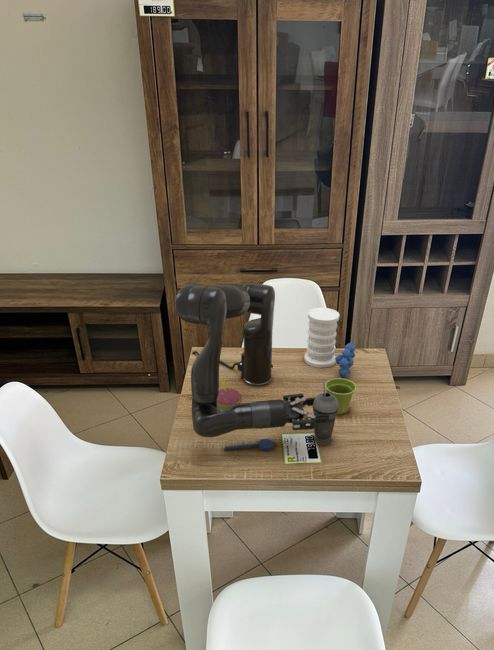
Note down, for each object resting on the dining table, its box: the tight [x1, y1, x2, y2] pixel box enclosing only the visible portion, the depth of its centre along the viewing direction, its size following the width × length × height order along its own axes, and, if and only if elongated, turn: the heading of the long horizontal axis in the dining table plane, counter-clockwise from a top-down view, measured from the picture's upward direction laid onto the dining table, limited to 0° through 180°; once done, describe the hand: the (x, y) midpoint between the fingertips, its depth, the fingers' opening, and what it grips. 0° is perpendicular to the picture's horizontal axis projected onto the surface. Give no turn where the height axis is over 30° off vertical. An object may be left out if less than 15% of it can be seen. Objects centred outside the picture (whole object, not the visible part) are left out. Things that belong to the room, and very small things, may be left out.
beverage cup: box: [312, 378, 339, 446], centre depth 150 cm, size 7×7×20 cm
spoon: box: [223, 438, 275, 451], centre depth 152 cm, size 14×4×1 cm, turn 102°
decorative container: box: [303, 307, 340, 369], centre depth 192 cm, size 12×12×18 cm
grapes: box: [335, 342, 356, 379], centre depth 185 cm, size 12×7×12 cm, turn 158°
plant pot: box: [325, 377, 357, 415], centre depth 167 cm, size 9×9×9 cm
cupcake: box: [217, 375, 243, 413], centre depth 163 cm, size 9×8×12 cm
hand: (324, 409), depth 150 cm, fingers open, 8 cm apart
